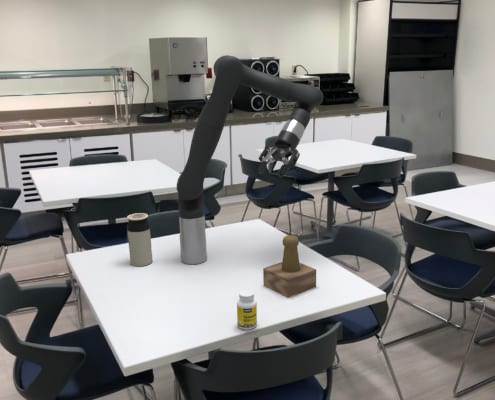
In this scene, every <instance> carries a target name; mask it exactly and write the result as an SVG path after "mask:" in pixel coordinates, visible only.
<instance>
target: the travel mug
mask: <svg viewBox="0 0 495 400" xmlns="http://www.w3.org/2000/svg"><path fill="white" fill-rule="evenodd" d="M148 218H149V215H148V213H144V212H142V213H141V212H138V213H136V212H135V213H132V214H129V215H127V216H126V219H127V220H128V223H127V224H126V228H127V229H126V230H127V240H128V251H129V260H130V265H132V266H135V267H145V266H148V265H150V264H152V263H153V251H152V239H151V238H152V236H151V229H150V228H151V227H150V226H151V225H150V224H151V223H150V222H149V220H148Z"/></svg>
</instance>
